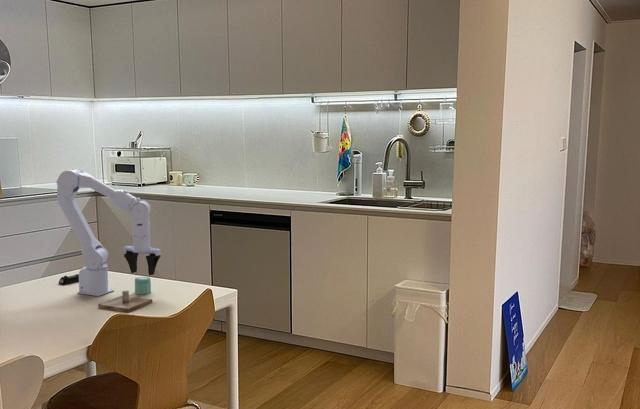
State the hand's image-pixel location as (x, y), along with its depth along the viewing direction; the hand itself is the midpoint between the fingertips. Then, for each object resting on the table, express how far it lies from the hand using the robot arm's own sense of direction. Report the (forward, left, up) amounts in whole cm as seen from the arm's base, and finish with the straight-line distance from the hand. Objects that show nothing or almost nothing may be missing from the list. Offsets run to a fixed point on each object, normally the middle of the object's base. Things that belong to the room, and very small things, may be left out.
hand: (142, 273), depth 213 cm
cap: (0, 0, -7) cm, 7 cm away
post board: (+5, -15, -7) cm, 17 cm away
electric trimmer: (-32, +3, -7) cm, 33 cm away
